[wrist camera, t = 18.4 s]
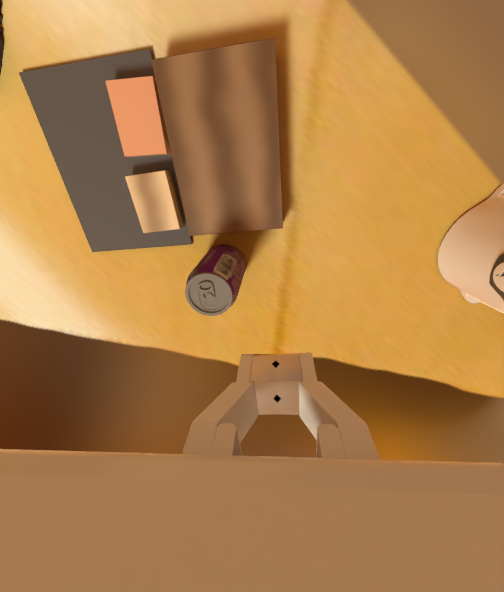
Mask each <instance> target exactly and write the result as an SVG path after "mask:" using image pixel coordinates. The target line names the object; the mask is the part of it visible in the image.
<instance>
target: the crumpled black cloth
mask: <svg viewBox="0 0 504 592" xmlns="http://www.w3.org/2000/svg"><path fill="white" fill-rule="evenodd" d="M1 20H2V15H1V14H0V24H1ZM2 30H3V29H2V28H1V27H0V74H1V68H2V58H3V50H4V38H3V36H2Z"/></svg>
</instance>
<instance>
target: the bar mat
mask: <svg viewBox="0 0 504 592" xmlns="http://www.w3.org/2000/svg"><path fill="white" fill-rule="evenodd" d="M151 60H153V54H152V51H151V50H150V49H146V50H140V51H135V52H129V53H124V54H118V55H113V56H107V57H102V58H96V59H91V60H85V61H80V62H75V63H69V64H64V65H58V66H53V67H47V68H42V69H36V70H31V71H25V72H20V73H19V74H20V77H21V79H22V81H23V84H24V86H25V89H26V91H27V94H28V96H29V98H30V101H31V103H32V106H33V108H34V111H35V113H36V116H37V118H38V120H39V123H40V125H41V128H42V130H43V133H44V135H45V138H46V140H47V142H48V145H49V147H50V150H51V152H52V155H53V157H54V159H55V162H56V164H57V167H58V169H59V172H60V174H61V177H62V179H63V181H64V184H65V186H66V189H67V191H68V194H69V196H70V199H71V201H72V203H73V206H74V208H75V211H76V213H77V216H78V218H79V220H80V223H81V225H82V228H83V230H84V233H85V235H86V238H87V240H88V242H89V245H90V247H91V250H92V252H98V251H111V250H124V249H136V248H149V247H162V246H175V245H187V244H192V243H193V242H192V237H191V236H189V232H188V227H187V223H186V218H185V213H184V209H183V204H182V199H181V195H180V190H179V186H178V181H177V176H176V172H175V167H174V163H173V158H172V154H171V155H157V156H142V157H125V156H124V152H123V148H122V145H121V141H120V137H119V133H118V129H117V125H116V121H115V117H114V113H113V109H112V105H111V101H110V97H109V93H108V89H107V86H106V82H105V81H107V80H117V79H127V78H137V77H147V76H153V77H154V78H155V75H154V70H153V65H152V61H151ZM165 170H170V171H171V175H172V179H173V183H174V187H175V191H176V195H177V199H178V203H179V207H180V211H181V215H182V219H183V223H184V227H182V228H181V229H175V230H166V231H158V232H149V233H143V230H142V227H141V224H140V221H139V218H138V215H137V212H136V209H135V206H134V203H133V200H132V197H131V194H130V191H129V188H128V185H127V182H126V178H125V176H132V175H138V174H145V173H152V172H158V171H165Z"/></svg>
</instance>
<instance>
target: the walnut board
mask: <svg viewBox="0 0 504 592" xmlns="http://www.w3.org/2000/svg"><path fill="white" fill-rule="evenodd" d="M151 61H152V65H153V70H154V75H155V79H156V84H157V89H158V93H159V98H160V102H161V107H162V112H163V116H164V121H165V126H166V130H167V135H168V139H169V144H170V149H171V153H172V158H173V163H174V167H175V172H176V176H177V181H178V186H179V190H180V195H181V199H182V204H183V209H184V213H185V218H186V223H187V227H188V232H189V236H194V235H206V234H218V233H230V232H242V231H254V230H266V229H279V228H283V218H282V194H281V169H280V145H279V121H278V96H277V72H276V48H275V38H272V39H266V40H260V41H255V42H249V43H243V44H238V45H232V46H226V47H221V48H215V49H209V50H204V51H198V52H193V53H187V54H181V55H176V56H170V57H164V58H159V59H153V60H151Z"/></svg>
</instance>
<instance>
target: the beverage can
mask: <svg viewBox="0 0 504 592" xmlns="http://www.w3.org/2000/svg"><path fill="white" fill-rule="evenodd" d="M244 272H245V260H244V258H243V256H242V254H241V253H240V252H239V251H238V250H237V249H235V248H234V247H231V246H228V245H218V246H215V247H213V248H211V249H210V250H209V251H208V252H207V254H206V255H205V256H204V257H203V258H202V260H201V261H200V262H199V263H198V265H197V266H196V267H195V268H194V270H193V271H192V272H191V273H190V275H189V277H188V279H187V285H186V290H185V294H186V298H187V301H188V303H189V304H190V306H191V307H192V308H193V309H194V310H196V311H197V312H199V313H201V314H204V315H208V316H216V315H220V314H222V313H224V312H225V311H227V310H228V308H229V307H230V306H232V305H233V303H234V302H235V300H236V298H237V295H238V292H239V289H240V285H241V282H242V279H243V275H244Z"/></svg>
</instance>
